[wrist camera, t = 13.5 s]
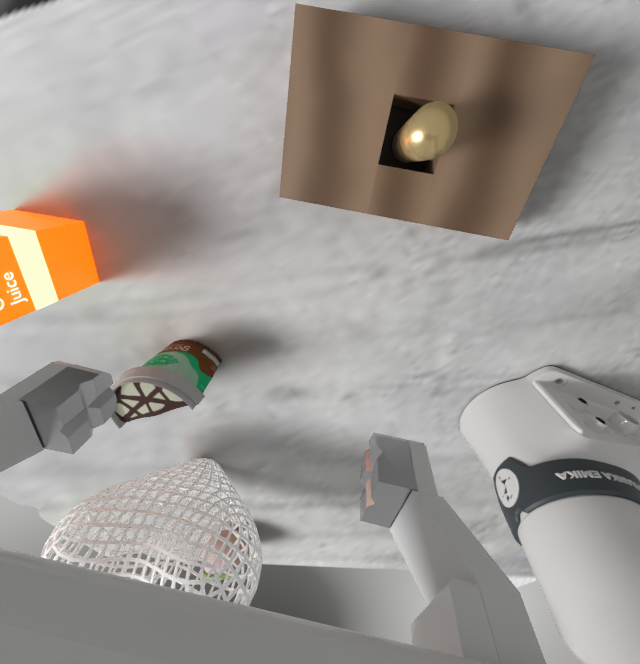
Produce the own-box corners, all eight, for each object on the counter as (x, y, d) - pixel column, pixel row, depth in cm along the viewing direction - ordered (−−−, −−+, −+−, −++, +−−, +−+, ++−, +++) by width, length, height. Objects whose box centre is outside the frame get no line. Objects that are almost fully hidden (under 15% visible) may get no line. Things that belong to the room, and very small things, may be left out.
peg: (430, 126, 26) (465, 106, 18) (420, 165, 28) (447, 163, 19) (397, 120, 26) (415, 97, 18) (388, 159, 28) (401, 155, 19)
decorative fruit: (238, 512, 61) (217, 569, 52) (262, 533, 63) (246, 591, 55) (206, 521, 64) (181, 577, 55) (230, 541, 67) (211, 596, 58)
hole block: (552, 75, 24) (595, 55, 19) (486, 229, 30) (508, 240, 25) (307, 32, 24) (295, 3, 20) (291, 192, 30) (279, 196, 26)
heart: (287, 444, 49) (238, 625, 29) (283, 499, 56) (243, 671, 37) (125, 416, 50) (-22, 571, 31) (142, 473, 58) (34, 626, 39)
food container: (207, 321, 39) (163, 365, 30) (230, 358, 41) (196, 408, 33) (137, 346, 42) (80, 392, 34) (163, 379, 45) (116, 429, 36)
